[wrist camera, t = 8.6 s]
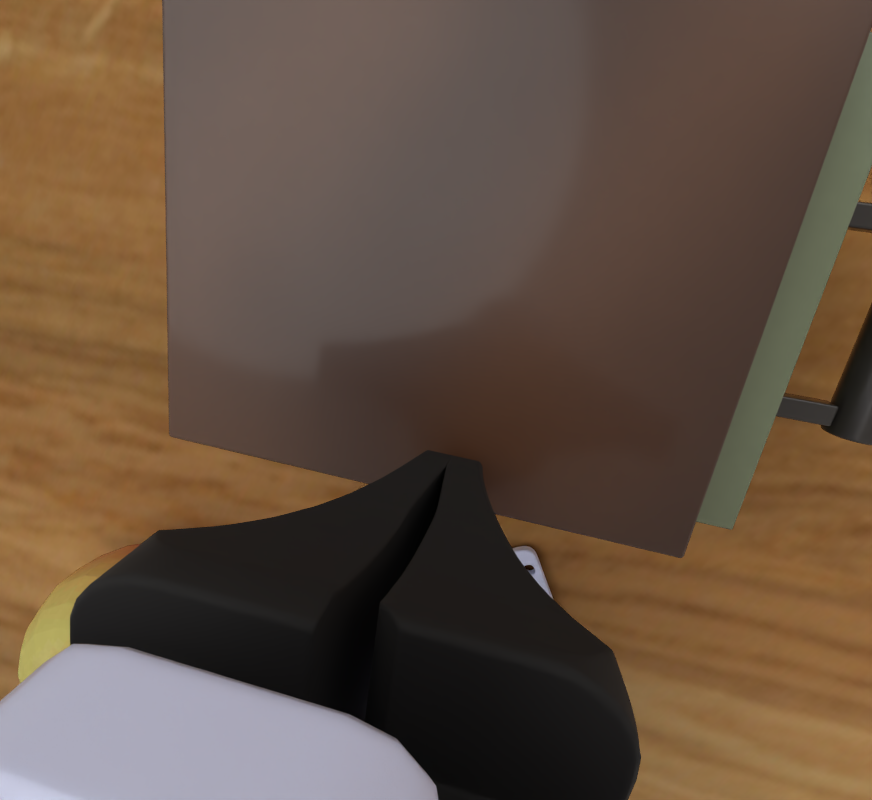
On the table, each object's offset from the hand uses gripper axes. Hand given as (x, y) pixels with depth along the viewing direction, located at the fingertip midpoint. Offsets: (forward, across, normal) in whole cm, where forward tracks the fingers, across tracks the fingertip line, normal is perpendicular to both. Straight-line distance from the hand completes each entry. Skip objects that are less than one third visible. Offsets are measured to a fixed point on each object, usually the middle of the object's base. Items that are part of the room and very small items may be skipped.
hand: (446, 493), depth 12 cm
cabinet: (+10, +1, -5) cm, 11 cm away
